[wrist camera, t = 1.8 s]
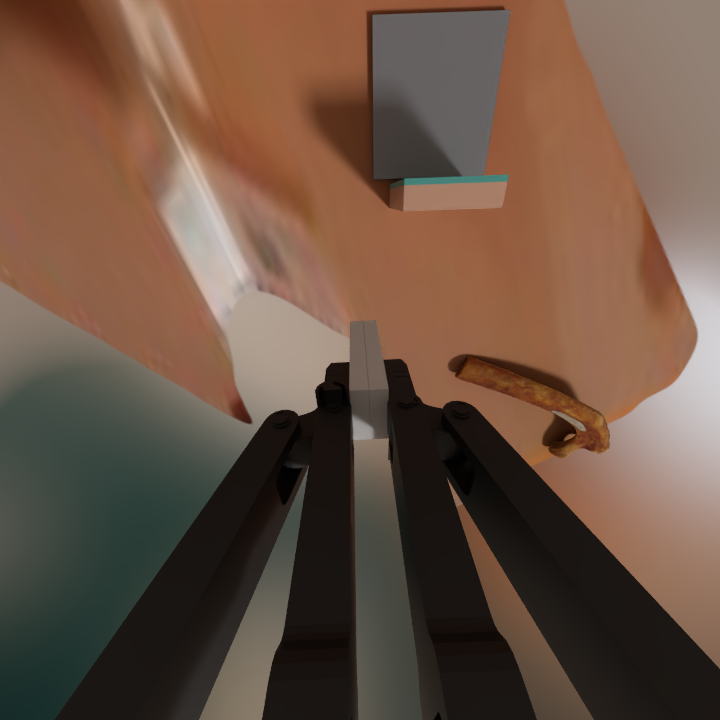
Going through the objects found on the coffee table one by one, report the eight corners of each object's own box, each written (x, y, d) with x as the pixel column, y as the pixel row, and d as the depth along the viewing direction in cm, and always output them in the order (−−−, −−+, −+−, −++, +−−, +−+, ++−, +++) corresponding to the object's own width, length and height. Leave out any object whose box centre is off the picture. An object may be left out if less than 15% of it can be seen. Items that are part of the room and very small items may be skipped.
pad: (373, 179, 33) (373, 179, 33) (372, 18, 27) (372, 14, 26) (481, 175, 33) (483, 175, 33) (507, 13, 27) (510, 10, 26)
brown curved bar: (444, 374, 48) (486, 385, 39) (469, 334, 49) (516, 335, 39) (555, 458, 58) (611, 483, 48) (575, 424, 58) (633, 441, 49)
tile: (389, 208, 35) (403, 211, 25) (389, 184, 33) (404, 178, 24) (461, 205, 35) (502, 207, 25) (464, 181, 34) (508, 174, 24)
